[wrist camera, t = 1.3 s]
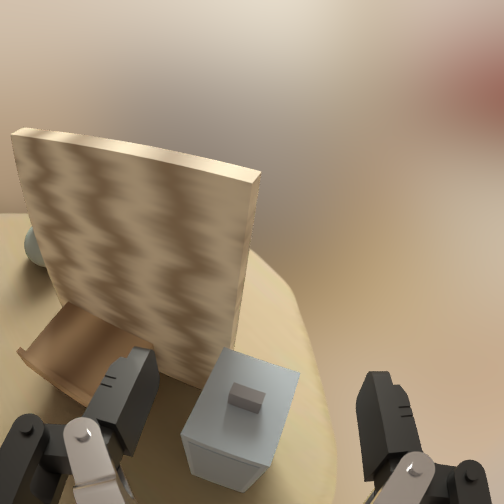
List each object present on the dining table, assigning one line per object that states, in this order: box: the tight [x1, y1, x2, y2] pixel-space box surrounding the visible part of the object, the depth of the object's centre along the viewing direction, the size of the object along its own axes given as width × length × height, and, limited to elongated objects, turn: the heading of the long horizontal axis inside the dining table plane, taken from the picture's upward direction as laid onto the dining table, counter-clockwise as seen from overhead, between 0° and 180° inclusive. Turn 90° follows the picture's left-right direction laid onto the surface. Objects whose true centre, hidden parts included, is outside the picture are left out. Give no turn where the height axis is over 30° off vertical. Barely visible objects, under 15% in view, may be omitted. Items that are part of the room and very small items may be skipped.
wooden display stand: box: [10, 128, 261, 407], centre depth 24 cm, size 22×11×26 cm, turn 72°
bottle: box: [181, 347, 300, 493], centre depth 23 cm, size 6×7×17 cm
